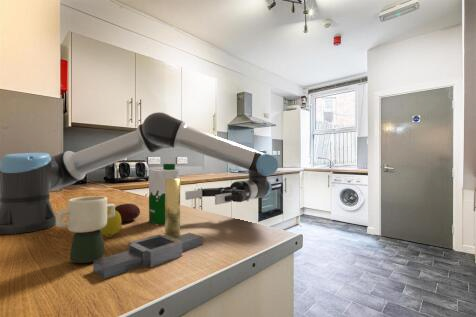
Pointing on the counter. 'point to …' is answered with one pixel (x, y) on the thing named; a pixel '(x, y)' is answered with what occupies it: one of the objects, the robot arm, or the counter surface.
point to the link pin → (172, 207)
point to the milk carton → (159, 192)
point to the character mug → (86, 226)
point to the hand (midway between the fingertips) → (200, 197)
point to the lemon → (112, 224)
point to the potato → (128, 212)
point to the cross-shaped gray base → (146, 254)
